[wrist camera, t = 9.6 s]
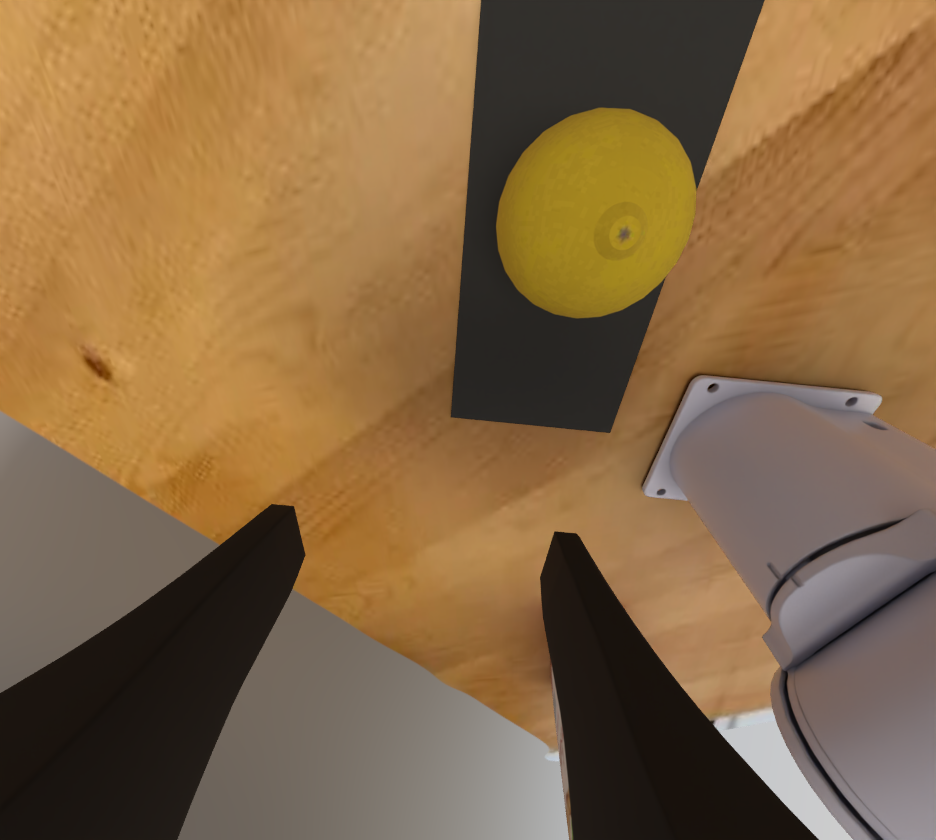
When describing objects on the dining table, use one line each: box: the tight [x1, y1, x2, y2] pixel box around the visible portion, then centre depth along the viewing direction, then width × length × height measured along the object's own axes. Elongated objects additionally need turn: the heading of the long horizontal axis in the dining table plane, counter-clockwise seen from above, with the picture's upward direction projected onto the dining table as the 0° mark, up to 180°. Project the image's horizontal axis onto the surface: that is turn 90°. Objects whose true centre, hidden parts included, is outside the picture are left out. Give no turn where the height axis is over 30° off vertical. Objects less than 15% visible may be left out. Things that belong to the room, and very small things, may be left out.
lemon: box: [496, 108, 696, 318], centre depth 11 cm, size 6×6×8 cm
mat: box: [451, 0, 764, 433], centre depth 15 cm, size 9×20×1 cm, turn 175°
